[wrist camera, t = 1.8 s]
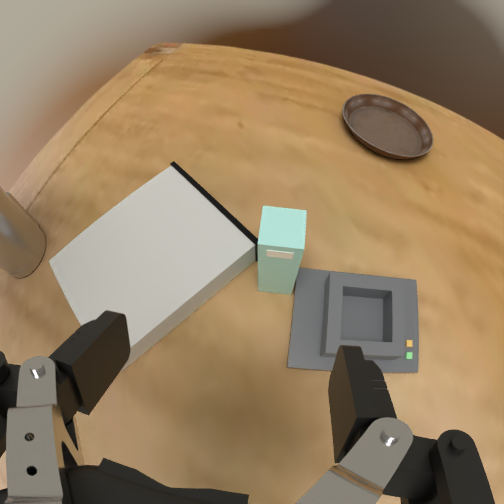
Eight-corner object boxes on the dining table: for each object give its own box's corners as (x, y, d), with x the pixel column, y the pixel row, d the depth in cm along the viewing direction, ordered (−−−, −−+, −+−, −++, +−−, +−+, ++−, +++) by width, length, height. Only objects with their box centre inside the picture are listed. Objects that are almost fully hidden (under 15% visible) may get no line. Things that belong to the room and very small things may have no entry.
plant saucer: (375, 96, 56) (378, 85, 53) (441, 146, 49) (447, 135, 47) (320, 122, 51) (322, 109, 49) (396, 183, 45) (402, 171, 42)
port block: (286, 367, 33) (290, 364, 30) (296, 270, 38) (300, 256, 35) (414, 373, 32) (429, 369, 28) (413, 282, 37) (426, 270, 34)
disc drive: (261, 259, 40) (261, 240, 35) (124, 373, 33) (106, 368, 29) (181, 182, 46) (174, 160, 41) (65, 273, 39) (47, 259, 35)
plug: (258, 291, 37) (257, 244, 27) (262, 260, 39) (263, 205, 28) (291, 295, 37) (304, 249, 26) (294, 264, 39) (306, 210, 28)
